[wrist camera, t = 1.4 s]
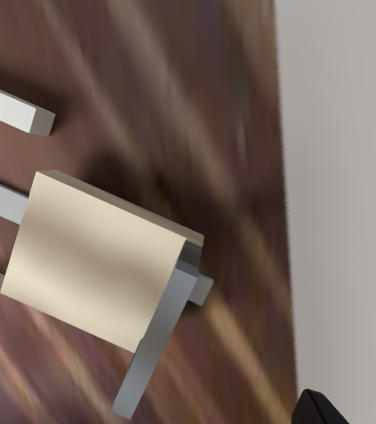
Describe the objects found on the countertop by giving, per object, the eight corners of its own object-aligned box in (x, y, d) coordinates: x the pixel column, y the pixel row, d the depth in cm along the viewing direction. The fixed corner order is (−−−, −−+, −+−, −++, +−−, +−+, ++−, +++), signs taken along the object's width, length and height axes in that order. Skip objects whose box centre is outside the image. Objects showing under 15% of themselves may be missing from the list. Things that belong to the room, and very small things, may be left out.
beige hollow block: (159, 327, 20) (129, 421, 13) (34, 270, 20) (-66, 333, 13) (205, 230, 18) (198, 276, 11) (67, 169, 18) (-26, 175, 11)
